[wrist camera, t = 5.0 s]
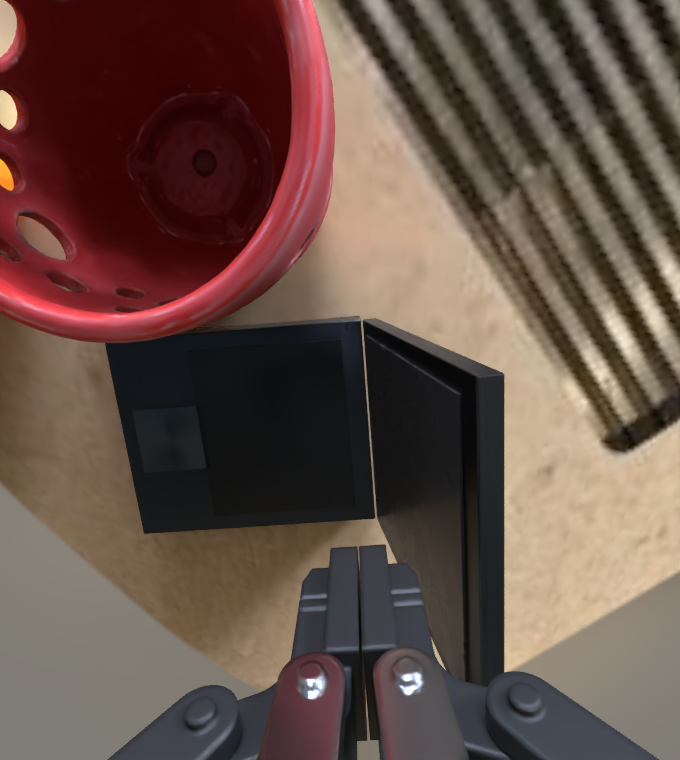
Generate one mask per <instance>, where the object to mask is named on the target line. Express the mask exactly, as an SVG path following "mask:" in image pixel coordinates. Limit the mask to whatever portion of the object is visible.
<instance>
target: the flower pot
mask: <svg viewBox="0 0 680 760" xmlns="http://www.w3.org/2000/svg"><path fill="white" fill-rule="evenodd" d="M5 1H7V2H8V3H9V4H10V5H11V6H12V7H13V9H14V11H15V14H16V18H17V29H16V35H15V38H14V40H13V43H12V45H11V46H10V48H9V49H8V50H7V51H6V53H5V54H4V55H2V56H1V57H0V90H4V91H5V92H7V93H8V94H9V95H10V96H11V97H12V98H13V100H14V103H15V105H16V109H17V122H16V125H15V126H14V127H13V128H12V129H11V130H8V129H6V128H4V127H3V126H2V125H1V124H0V159H1V160H2V161H3V162H4V163H5V164H6V166H7V167H8V169H9V171H10V173H11V175H12V179H13V183H14V188H13V190H12V191H10V190H7V189H5V188H4V187H2V186H1V185H0V249H1V250H3V251H4V252H5V253H6V254H7V255H8V256H9V257H10V258H12V260H10V259H8V258H6V257H4V256H3V255H2V254H1V253H0V313H1V314H3V315H4V316H6V317H8V318H10V319H13V320H15V321H17V322H19V323H22V324H24V325H27V326H29V327H32V328H34V329H37V330H40V331H43V332H46V333H49V334H53V335H56V336H59V337H64V338H69V339H74V340H79V341H87V342H98V343H129V342H139V341H148V340H153V339H158V338H162V337H167V336H171V335H174V334H178V333H181V332H185V331H188V330H191V329H194V328H197V327H200V326H203V325H206V324H208V323H211V322H213V321H216V320H218V319H221V318H223V317H225V316H227V315H230V314H232V313H234V312H235V311H237V310H239V309H240V308H242V307H244V306H246V305H247V304H249V303H251V302H252V301H254V300H255V299H257V298H258V297H260V296H261V295H262V294H264V293H265V292H266V291H267V290H269V289H270V288H271V287H272V286H273V285H274V284H276V283H277V282H278V281H279V280H280V279H281V278H282V277H283V276H284V275H285V274H286V273H287V271H288V270H289V269H290V268H291V267H292V265H293V264H294V263H295V262H296V261H297V260H298V259H299V258H300V257H301V256H302V255H303V253H304V252H305V251H306V250H307V248H308V247H309V245H310V244H311V242H312V241H313V239H314V238H315V236H316V234H317V232H318V230H319V228H320V226H321V224H322V221H323V219H324V216H325V214H326V211H327V208H328V204H329V200H330V195H331V188H332V179H333V158H334V142H335V115H334V97H333V87H332V80H331V75H330V69H329V63H328V58H327V53H326V49H325V45H324V40H323V36H322V32H321V28H320V25H319V21H318V18H317V15H316V11H315V8H314V5H313V1H312V0H5ZM17 216H25V217H29V218H32V219H34V220H36V221H38V222H39V223H41V224H42V225H44V226H45V227H46V228H47V229H48V230H49V231H50V232H51V233H52V234H53V235H54V236H55V237H56V238H57V239H58V241H59V242H60V244H61V245H62V247H63V249H64V251H65V254H66V260H58V259H54V258H51V257H48V256H46V255H44V254H42V253H41V252H39V251H37V250H36V249H35V248H34V247H32V246H31V245H30V244H28V242H27V241H26V240H25V239H24V237H23V236H22V235H21V234H20V232H19V229H18V227H17V225H16V221H17ZM55 284H56V285H55ZM57 285H59V286H62V287H65V288H67V289H69V290H71V291H67V290H64V289H62V288H60V287H59V286H57ZM129 298H132V299H129Z"/></svg>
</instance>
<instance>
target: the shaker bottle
mask: <svg viewBox="0 0 680 760" xmlns="http://www.w3.org/2000/svg"><path fill="white" fill-rule="evenodd" d="M0 185H1V186H2V187H4V188H5V189H7V190H10V191H12V190H13V188H14V183H13V179H12V175H11V173H10V171H9V169H8V167H7V166H6V164H5V163H4V162H3V161H2V160H1V159H0ZM17 219H18V216H17ZM16 222H17V221H16Z"/></svg>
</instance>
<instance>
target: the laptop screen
mask: <svg viewBox="0 0 680 760" xmlns="http://www.w3.org/2000/svg"><path fill="white" fill-rule="evenodd" d="M363 328H364V342H365V356H366V370H367V384H368V398H369V412H370V425H371V439H372V453H373V467H374V481H375V495H376V509H377V519H378V521H379V524H380V526H381V528H382V530H383V532H384V535H385V537H386V539H387V541H388V543H389V545H390V548H391V550H392V552H393V554H394V556H395V559H396V561H397V563H407V564H408V565H409V566H410V567H411V568H412V569H413V571H414V572H415V573H416V574H417V575H418V580H419V585H420V589H421V594H422V599H423V605H424V608H425V613H426V618H427V622H428V627H429V632H430V635H431V638H432V640H433V642H434V644H435V646H436V649H437V651H438V653H439V655H440V657H441V660H442V662H443V664H444V666H445V668H446V670H447V672H448V673H450V674H451V675H453V676H454V677H456V678H458V679H460V680H462V681H465V682H469V683H473V684H477V685H481V686H485V687H488V685H489V683H490V682H491V680H492V679H493V678H495V677H496V676H498V675H500V674H502V673H504V374H503V373H502V372H499V371H497V370H495V369H492V368H490V367H488V366H485V365H483V364H481V363H478V362H476V361H474V360H471V359H469V358H467V357H464V356H462V355H460V354H457V353H455V352H453V351H450V350H448V349H446V348H443V347H441V346H439V345H436V344H434V343H432V342H430V341H427V340H425V339H423V338H420V337H418V336H416V335H413V334H411V333H409V332H406V331H404V330H402V329H399V328H397V327H395V326H392V325H390V324H388V323H385V322H383V321H381V320H378V319H376V318H374V319H365V320H363Z"/></svg>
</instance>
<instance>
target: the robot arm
mask: <svg viewBox="0 0 680 760" xmlns="http://www.w3.org/2000/svg"><path fill="white" fill-rule="evenodd" d="M359 554H360V572H359V560H358V549H357V546H356V547H340V548H331V551H330V564H329V568H315V569H312V570H311V571H310V572H309V574H308V575H307V577H306V578H305V579H304V581H303V582H302V589H301V596H300V602H299V609H298V610H299V612H298V615H297V622H296V629H295V635H294V642H293V649H292V655H291V660H290V661H289V662H288V663H287V664H286V665H285V666H284V668H283V669H282V671H281V672H280V675H279V677H278V681H277V683H275V684H274V685H273V686H271V687H270V688H268V689H266V690H265V691H262V692H260V693H258V694H255V695H252V696H249V697H246V698H243V699H241V700H238V701H237V698H236V696H235V695H234V693H232V691H231V690H229V689H227V688H226V687H222V686H218V685H210V686H204V687H200V688H198V689H195V690H193V691H191V692H189V693H187V694H186V695H185V696H183V697H182V698H181V699H179V700H178V701H177V702H176V703H175V704H173V705H172V706H171V707H170V708H169V709H168V710H166V711H165V712H164V713H163V714H161V715H160V716H159V717H158V718H157V719H156V720H154V721H153V722H152V723H151V724H150V725H148V726H147V727H146V728H145V729H144V730H143V731H141V732H140V733H139V734H138V735H136V736H135V737H134V738H133V739H132V740H130V741H129V742H128V743H127V744H126V745H124V746H123V747H122V748H121V749H120V750H119V751H117V752H116V753H115V754H114V755H113V756H111V757H110V758H109V759H108V760H357V741H367V721H366V697H367V708H368V720H369V731H370V740H379V753H380V760H659V759H657V758H656V757H654V756H653V755H651V754H650V753H649V752H647V751H646V750H644V749H643V748H641V747H640V746H638V745H637V744H635V743H634V742H633V741H631V740H630V739H628V738H627V737H625V736H624V735H623V734H621V733H620V732H618V731H617V730H615V729H614V728H612V727H611V726H609V725H608V724H607V723H605V722H604V721H602V720H601V719H599V718H598V717H596V716H595V715H593V714H592V713H591V712H589V711H588V710H586V709H585V708H583V707H582V706H580V705H579V704H578V703H576V702H575V701H573V700H572V699H570V698H569V697H567V696H566V695H564V694H563V693H561V692H560V691H559V690H557V689H556V688H554V687H553V686H551V685H550V684H548V683H547V682H545V681H544V680H542V679H541V678H539V677H537V676H534V675H531V674H528V673H524V672H517V671H512V672H505V673H502V674H500V675H498V676H496V677H495V678H493V679H492V680H491V682H490V683H489V685H488V687H485V686H481V685H477V684H473V683H469V682H465V681H462V680H460V679H458V678H456V677H454V676H453V675H451V674H450V673H448V672H447V671H446V670H445V669H444V668H443V667H442V666H441V665H440V664H439V662H438V661H437V659H436V657H435V654H434V651H433V646H432V641H431V636H430V632H429V627H428V622H427V618H426V613H425V608H424V605H423V599H422V594H421V589H420V585H419V580H418V575H417V574H416V573H415V572H414V571H413V569H412V568H411V567H410V566H409V565H408V564H407V563H397V564H388V560H387V552H386V545H370V546H359ZM365 686H366V691H365Z"/></svg>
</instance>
